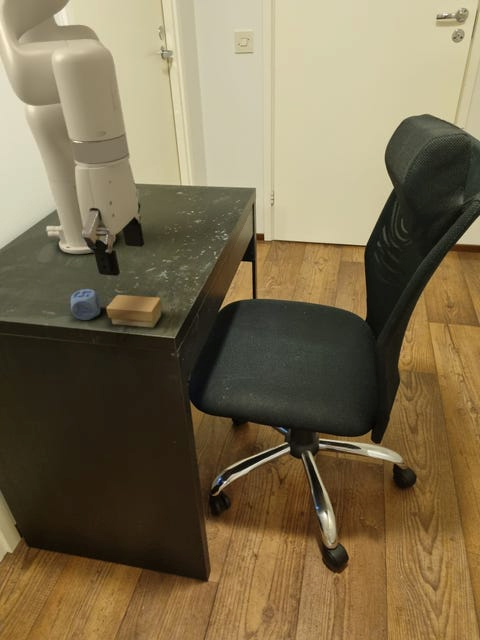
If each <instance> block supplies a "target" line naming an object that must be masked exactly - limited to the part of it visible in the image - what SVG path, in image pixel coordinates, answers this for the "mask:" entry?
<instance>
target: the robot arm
mask: <svg viewBox="0 0 480 640" xmlns="http://www.w3.org/2000/svg"><path fill="white" fill-rule="evenodd" d="M69 2H70V0H0V59H1V61H2V64H3V68H4V70H5V74H6V77H7V79H8V82H9V84H10V86H11V88H12V90H13V93H14V94H15V95H16V97H17V99H19V100H20V101H21V102H23V103H24V104H25V105H24V115H25V119H26V122H27V124H28V127H29V129H30V131H31V134H32V136H33V138H34V141H35V143H36V145H37V148H38V151H39V153H40V156H41V160H42V162H43V166H44V169H45V173H46V176H47V179H48V183H49V187H50V190H51V194H52V197H53V202H54V205H55V207H56V212H57V216H58V219H59V222H60V223H59V225H47V226H46V227H45V228H46V229H45V230H46V234H47V237H48V238H49V239H50V238H58V239H60V240H59V241H58V246H59V249H60V250H61V251H62V252H64V253H67V254H71V255H72V254H73V255H85V254H91V253H93V254H94V258H95V262H96V266H97V271H98V274H100V275H101V276H113V277H114V276H115V277H118V276H119V275H120V273H121V271H120V266H119V262H118V256H117V252H116V250H114V249H113V247H114V246H113V245H114V243H115V241H116V239H117V237H116V235H117V234H118V233H120V232H121V231H122V235H123V239H124V244H125V246H127V247H138V248H140V247H141V248H142V247H144V245H145V241H144V239H145V238H144V233H143V228H142V223H141V222H142V215H141V214H140V210H141V203H140V189H138V188H136V182H135V179H134V174H133V169H132V166H131V162H130V158H131V155H130V149H129V142H128V137H127V130H126V124H125V119H124V112H123V106H122V101H121V96H120V89H119V84H118V78H117V77H118V76H117V72H116V70H117V69H116V65H115V61H114V57H113V55H112V53H111V51H110V49H108V48H107V47H106V46H105V45H104V44H103V43H102V42H101V41H100V38H99V37H98V35H97V33H96V32H95V31H94V30H93V28H91V27H89V26H88V25H84V24H69V25H58V23H57V21H56V18H55V16H56V15H57V14H58V13H60V12H61V11H62V10H63V9H64V8H65V7H66V6H67V5H68V4H69Z"/></svg>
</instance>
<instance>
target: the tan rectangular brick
mask: <svg viewBox="0 0 480 640" xmlns="http://www.w3.org/2000/svg"><path fill="white" fill-rule="evenodd" d="M162 309H163V303H162V297H153V296H139V295H127V294H126V295H125V294H117V295H115V297H114V298H113V299H112V301H110V303H109V304H108V305H107V306H106V313H107V317H108V318H109V319H111V324H112V325H116V326H117V325H119V326H129V327H130V326H131V327H143V328H154V327H155V326H156V324H157V323H158V322H159V320H160V318H161V316H162V311H161V310H162Z"/></svg>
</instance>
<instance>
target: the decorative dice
mask: <svg viewBox="0 0 480 640" xmlns="http://www.w3.org/2000/svg"><path fill="white" fill-rule="evenodd" d="M70 310H71V313H72V315H73V316H74V317H75V318H76V319H78V320H80V321H89V320H93V319H95V318H97V317H98V316H99V315H100V314H101V300H100V296H99V293H98V292H97V291H95V290H93V289H90V288H83V289H79V290H76V291H75V292H73V293H72V295H71V297H70Z"/></svg>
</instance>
